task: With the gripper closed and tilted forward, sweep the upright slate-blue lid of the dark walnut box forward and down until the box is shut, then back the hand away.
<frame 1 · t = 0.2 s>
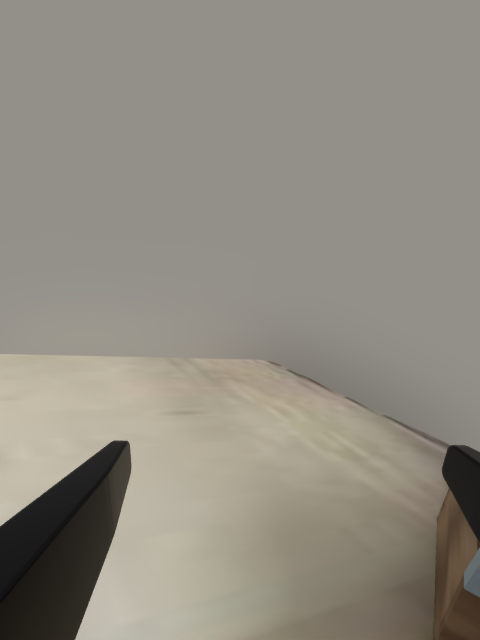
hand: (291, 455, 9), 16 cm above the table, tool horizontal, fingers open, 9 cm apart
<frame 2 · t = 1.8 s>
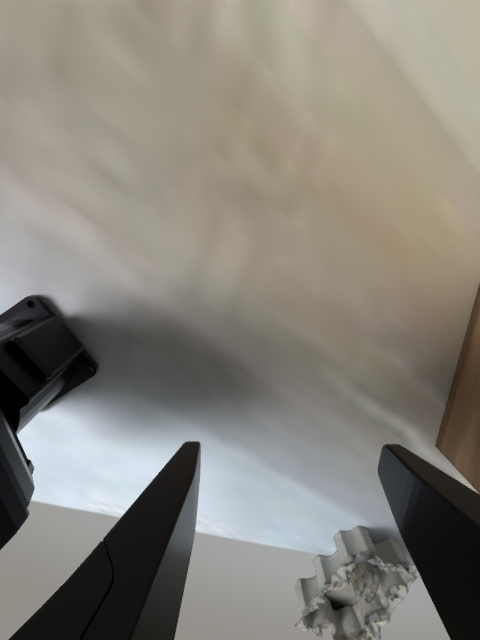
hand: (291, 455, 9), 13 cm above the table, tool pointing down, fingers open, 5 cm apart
egg carton: (343, 564, 29), on the table
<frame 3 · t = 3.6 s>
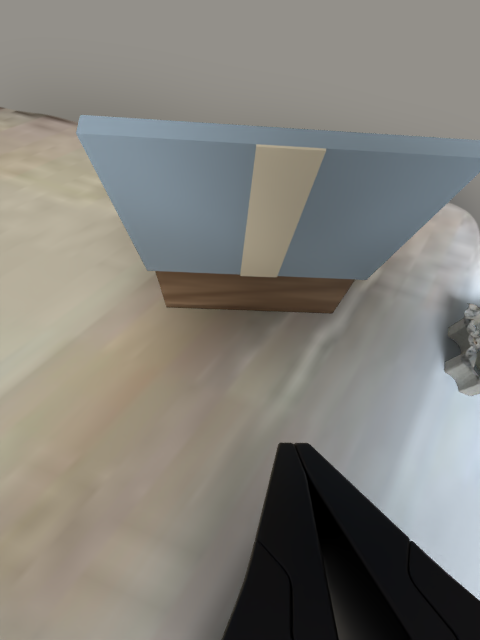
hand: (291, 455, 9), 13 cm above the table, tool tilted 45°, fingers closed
box lid: (269, 225, 16), point 11 cm above the table, hinge at 100.0°
walnut box: (250, 262, 28), on the table
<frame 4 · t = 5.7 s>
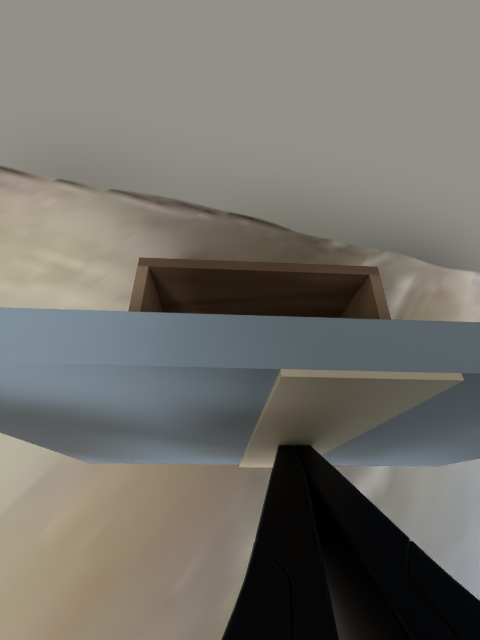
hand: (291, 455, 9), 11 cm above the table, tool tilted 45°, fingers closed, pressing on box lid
box lid: (292, 428, 9), point 11 cm above the table, hinge at 87.2°, touching gripper
walnut box: (252, 377, 21), on the table
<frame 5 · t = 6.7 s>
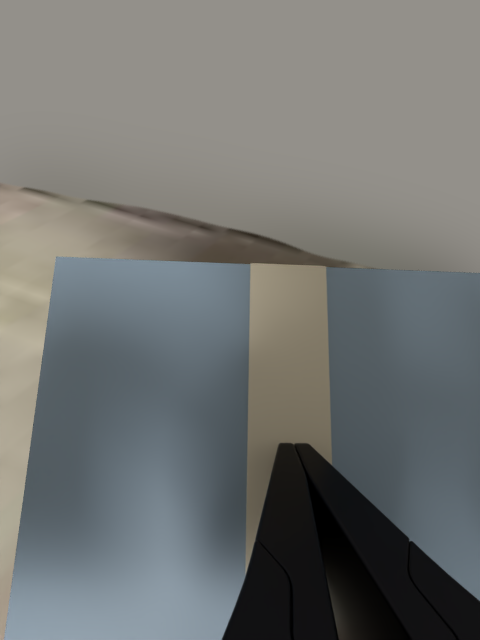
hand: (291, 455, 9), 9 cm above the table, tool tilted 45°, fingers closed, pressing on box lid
box lid: (286, 431, 9), point 8 cm above the table, hinge at 16.8°, touching gripper
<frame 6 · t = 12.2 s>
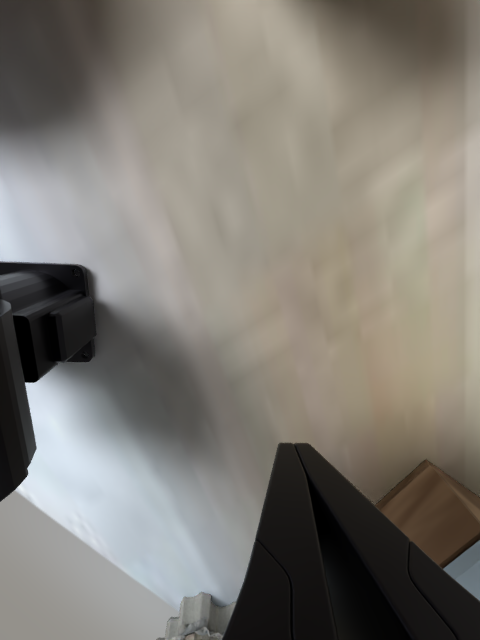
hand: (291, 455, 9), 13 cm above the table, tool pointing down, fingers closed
box lid: (462, 639, 21), point 7 cm above the table, hinge at 3.0°
egg carton: (199, 624, 31), on the table
walnut box: (405, 538, 28), on the table
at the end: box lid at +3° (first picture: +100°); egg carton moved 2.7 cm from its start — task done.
